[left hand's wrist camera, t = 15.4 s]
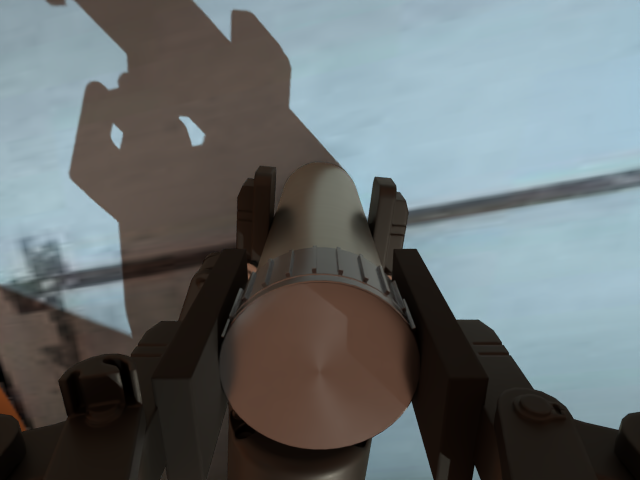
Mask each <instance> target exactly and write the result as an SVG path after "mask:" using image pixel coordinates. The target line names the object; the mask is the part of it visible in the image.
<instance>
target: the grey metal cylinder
mask: <svg viewBox="0 0 640 480" xmlns="http://www.w3.org/2000/svg"><path fill="white" fill-rule="evenodd" d="M315 245H317V247H328V248H337V247H340V248H341V250H345V251H349V252H352V253H354V254H357V255H359V254H362V255H363V257H364V258H365V259H367V260H369V261H371V262H372V263H374V264H375V265H376V266H379V265H380V266H381V267H382V265H381V262H380V259H379V256H378V253H377V250H376V247H375V244H374V241H373V238H372V235H371V232H370V229H369V226H368V223H367V219H366V216H365V213H364V210H363V207H362V204H361V201H360V198H359V195H358V192H357V189H356V186H355V184H354V182H353V180H352V179H351V177H350V176H349V175H348V174H347V173H346V172H345V171H344V170H343V169H341V168H340V167H338V166H336V165H333V164H330V163H325V162H314V163H310V164H306V165H304V166H302V167H300V168H298V169H297V170H296V171H295V172H294V173H293V174H292V175H291V176H290V177H289V178H288V180H287V182H286V183H285V186H284V188H283V192H282V195H281V198H280V201H279V204H278V207H277V210H276V213H275V216H274V219H273V222H272V225H271V228H270V231H269V234H268V237H267V240H266V243H265V246H264V249H263V252H262V255H261V258H260V261H259V264H258V267H257V270H258V269H259V268H261V267H262V266H263V265H265V264H266V263H267V262H268V259H270V258H272V259H274V258H276V257H278V256H280V255H283V254H285V253H288V252H289V250H291V249H293V250H298V249H303V248H311V247H313V246H315ZM257 270H256V271H257Z"/></svg>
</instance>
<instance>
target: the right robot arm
mask: <svg viewBox="0 0 640 480" xmlns="http://www.w3.org/2000/svg"><path fill="white" fill-rule="evenodd" d="M275 186H276V167H267V166H259V168H258V169H257V171H256V173H255V178H254V179H252V178H248V179H247V180H246V182H245V183H244V185H243V186H242V188H241V191H240V193H239V195H238V198H237V238H236V249H246V253H247V268H248V280H249V277H250V274H251V273H252V272H253V271H254V272H256V270H257V267H258V264H259V261H260V258H261V255H262V252H263V249H264V246H265V243H266V240H267V237H268V234H269V231H270V228H271V225H272V222H273V219H274V203H275ZM408 213H409V212H408V208H407V204H406V200H405V199H404V197H403V196H402V195H401V193H400V192H396V185H395V183H394V182H393V180H392V179H391V178H383V177H375V178H374V181H373V188H372V195H371V202H370V209H369V216H368V226H369V229H370V232H371V235H372V238H373V241H374V244H375V247H376V250H377V253H378V256H379V259H380V262H381V265H382V268H383V271H384V273H385V274H386V275H388V277H389V278H390V279H391V280H392V264H393V249H402V248H403V242H404V235H405V231H406V225H407V219H408ZM220 254H221V253H220V252H212V253H210V254H208V255H207V256H206V258H205V259H204V261H203V263H202V266H201V268H200V269H199V271H198V272H197V273H196V274H195V275H194V277H193V278H192V280H191V283H190V286H189V289H188V292H187V296H186V299H185V302H184V305H183V308H182V311H181V314H180V317H179V320H178V321H183V320H184V318H185V316H186V314H187V313H188V311H189V309H190V307H191V306H192V304H193V302H194V300H195V298H196V297H197V295H198V293H199V291H200V290H201V288H202V286H203V284H204V282H205V281H206V279H207V277H208V275H209V274H210V272H211V270H212V268H213V266H214V265H215V263H216V261H217V259H218V258H219V256H220ZM228 406H229V431H228V473H227V480H365V476H366V470H367V464H368V458H369V453H370V447H371V441H372V438H370V439H368V440H365V441H363V442H360V443H357V444H354V445H351V446H347V447H342V448H336V449H315V450H314V449H304V448H298V447H293V446H289V445H285V444H282V443H279V442H277V441H274V440H272V439H270V438H267V437H266V436H264V435H262V434H260V433H259V432H257V431H256V430H254V429H253V428H252V427H250V426H249V425H248V424H247V423H245V422H244V421H243V420H242V419H241V418H240V417H239V416H238V414H237V413H236V412H235V411H234V409H233V408H232V407H231V405H230V403H229V402H228Z"/></svg>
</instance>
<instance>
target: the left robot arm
mask: <svg viewBox="0 0 640 480" xmlns="http://www.w3.org/2000/svg"><path fill="white" fill-rule="evenodd" d="M247 281H248V268H247V253H246V249H223V250H222V252H221V254H220V256H219V258H218V259H217V261H216V263H215V265H214V266H213V268H212V270H211V272H210V274H209V275H208V277H207V279H206V281H205V282H204V284H203V286H202V288H201V290H200V291H199V293H198V295H197V297H196V298H195V300H194V302H193V304H192V306H191V307H190V309H189V311H188V313H187V314H186V316H185V318H184V320H183V321H161V322H159V323H158V324H157V325H155V326H154V327H152V328H151V329H150V330H148V331H147V332H146V333H145V335H144V336H143V338H142V339H141V340H140V342H139V343H138V346H136V348H135V349H134V351H133V352H132V354H131V357H129V356H125V355H122V354H104V355H100V356H96V357H91V358H89V359H86V360H84V361H82V362H80V363H77V364H76V365H74V366H73V367H71V368H70V369H69V370H67V371H66V372H65V373H64V374H63V375H62V377H61V378H60V379H59V380H58V382H59V386H60V389H61V393H62V397H63V401H64V405H65V409H66V413H67V416H68V417H67V420H66V421H64V422H61V423H57V424H54V425H49V426H45V427H41V428H36V429H32V430H27V431H23V432H21V428H20V425H19V422H18V421H17V420H16V419H15V418H14V417H13V416H11V415H5V414H0V480H160V478H161V475H162V473H163V470H164V468H165V467H166V473H167V479H168V480H206V478H207V474H208V471H209V467H210V464H211V460H212V457H213V453H214V450H215V446H216V442H217V439H218V435H219V432H220V428H221V425H222V421H223V418H224V414H225V411H226V407H227V404H228V400H227V398H226V396H225V394H224V391H223V389H222V386H221V382H220V372H219V351H220V347H221V343H222V338H221V336H222V333H223V331H224V328H225V325H226V323H227V320H228V316H229V313H230V311H231V308H232V306H233V303H234V300H235V298H236V295H237V293H238V290H239V288H241V289H243V287H244V286H245V284H246V283H247ZM391 281H392V282H393V281H396V283H397V285H398V288H399V291H400V293H401V296H402V299H405V300H406V303H407V305H408V308H409V311H410V313H411V316H412V318H413V321H414V324H415V326H416V329H417V331H415V332H414V333H415V336H416V339H417V341H418V345H419V349H420V354H421V369H420V379H419V384H418V388H417V390H416V393H415V395H414V397H413V399H412V404H413V408H414V412H415V415H416V419H417V422H418V426H419V429H420V433H421V436H422V440H423V443H424V447H425V450H426V454H427V458H428V461H429V465H430V468H431V472H432V475H433V479H434V480H472V477H473V471H474V465H475V466H476V469H477V471H478V474H479V476H480V479H481V480H640V412H636V413H630V414H628V415H626V416H625V417H624V418H623V419H622V421H621V424H620V427H619V430H616V429H612V428H608V427H603V426H599V425H594V424H590V423H585V422H582V421H579V420H575V419H573V417H572V415H571V414H570V412H569V411H568V409H567V408H566V406H564V405H563V404H562V403H561V402H559V401H558V400H557V399H556V398H554V397H552V396H550V395H548V394H546V393H544V392H542V391H538V390H534V389H533V387H532V386H531V384H530V383H529V381H528V380H527V378H526V377H525V376H524V374H523V373H522V371H521V370H520V368H519V367H518V365H517V364H516V362H515V361H514V359H513V358H512V357H511V355H509V352H508V351H507V349H506V348H505V346H504V345H502V342H501V341H500V339H499V338H498V336H497V335H496V333H495V332H494V330H492V329H491V328H490V327H488V326H487V325H485V324H484V323H482V322H481V321H480V320H456V319H455V317H454V315H453V313H452V311H451V310H450V308H449V306H448V304H447V302H446V301H445V299H444V297H443V295H442V294H441V292H440V290H439V288H438V286H437V285H436V283H435V281H434V279H433V278H432V276H431V274H430V272H429V270H428V269H427V267H426V265H425V263H424V262H423V260H422V258H421V256H420V254H419V253H418V251H417V249H393V264H392V280H391Z"/></svg>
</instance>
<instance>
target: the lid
mask: <svg viewBox="0 0 640 480" xmlns="http://www.w3.org/2000/svg"><path fill="white" fill-rule="evenodd" d="M415 331H417V329H416V326H415V324H414V321H413V318H412V316H411V313H410V311H409V308H408V305H407V303H406V300H405V299H402V296H401V293H400V291H399V288H398V285H397V283H396V281H393V282H392V281H391V279H390V278H389V277H388V275H386V274H385V273H384V271H383V268H382V267H381V266H380V265H379V266H376V265H375V264H374V263H372V262H371V261H369V260H367V259H365V258H364V257H363V255H362V254H359V255H357V254H354V253H352V252H349V251H345V250H341V248H340V247H337V248H328V247H317V245H315V246H313V247H311V248H303V249H298V250H293V249H291V250H289V252H288V253H285V254H283V255H280V256H278V257H276V258H274V259H272V258H270V259H268V262H267V263H266V264H265V265H263V266H262V267H261V268H259V269H258V270H257V271H256V272H254V271H253V272H252V273H251V274H250V277H249V280H248V281H247V283H246V284H245V286H244V287H243V289H241V288H239V290H238V293H237V295H236V298H235V300H234V303H233V306H232V308H231V311H230V313H229V316H228V320H227V323H226V325H225V328H224V331H223V333H222V336H221V338H222V343H221V347H220V351H219V372H220V382H221V386H222V389H223V391H224V394H225V396H226V398H227V400H228V402H229V403H230V405H231V407H232V408H233V409H234V411H235V412H236V413H237V414H238V416H239V417H240V418H241V419H242V420H243V421H244V422H245V423H247V424H248V425H249V426H250V427H252V428H253V429H254V430H256V431H257V432H259V433H260V434H262V435H264V436H266V437H267V438H270V439H272V440H274V441H277V442H279V443H282V444H285V445H289V446H293V447H298V448H304V449H314V450H315V449H336V448H342V447H347V446H351V445H354V444H357V443H360V442H363V441H365V440H368V439H370V438H372V437H374V436H376V435H377V434H379V433H381V432H383V431H384V430H385V429H387V428H388V427H389V426H391V425H392V424H393V423H394V422H395V421H396V420H397V419H398V418H399V417H400V416H401V415H402V414H403V413H404V411H405V410H406V409H407V408H408V406H409V404H410V403H411V401H412V399H413V397H414V395H415V393H416V390H417V388H418V384H419V379H420V369H421V354H420V349H419V345H418V341H417V339H416V336H415V333H414V332H415Z"/></svg>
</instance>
